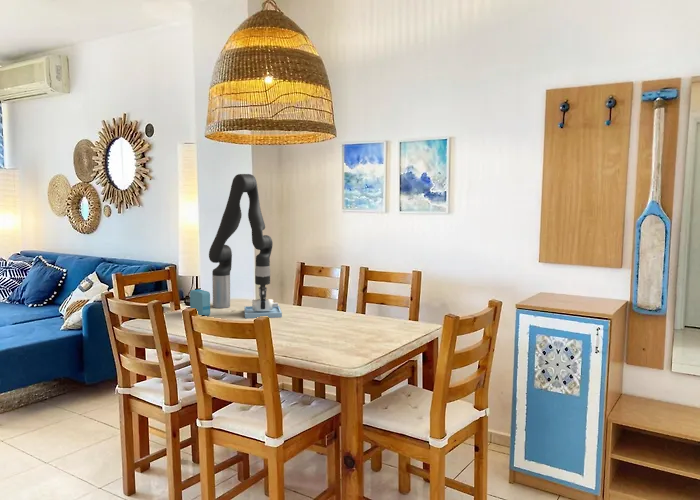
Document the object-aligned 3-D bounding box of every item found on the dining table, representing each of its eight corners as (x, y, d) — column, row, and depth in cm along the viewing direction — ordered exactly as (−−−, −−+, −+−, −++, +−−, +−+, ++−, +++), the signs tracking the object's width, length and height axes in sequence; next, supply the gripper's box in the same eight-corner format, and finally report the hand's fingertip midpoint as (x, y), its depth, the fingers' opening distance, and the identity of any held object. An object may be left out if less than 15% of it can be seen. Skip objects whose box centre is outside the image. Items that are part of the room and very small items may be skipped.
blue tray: (244, 310, 284) (244, 306, 283) (279, 309, 287) (279, 305, 287) (245, 318, 266) (245, 313, 266) (281, 317, 270) (281, 312, 269)
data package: (210, 315, 271) (210, 292, 269) (202, 317, 267) (202, 293, 266) (198, 311, 279) (197, 288, 278) (190, 313, 276) (189, 289, 275)
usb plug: (252, 310, 273) (252, 301, 273) (252, 309, 278) (252, 299, 277) (277, 310, 276) (277, 300, 275) (277, 308, 280) (277, 298, 280)
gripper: (254, 272, 281) (254, 305, 283) (255, 277, 267) (255, 311, 269) (269, 272, 282) (269, 305, 284) (271, 276, 268) (271, 310, 270)
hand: (262, 307), depth 276 cm, fingers closed on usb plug, 4 cm apart
